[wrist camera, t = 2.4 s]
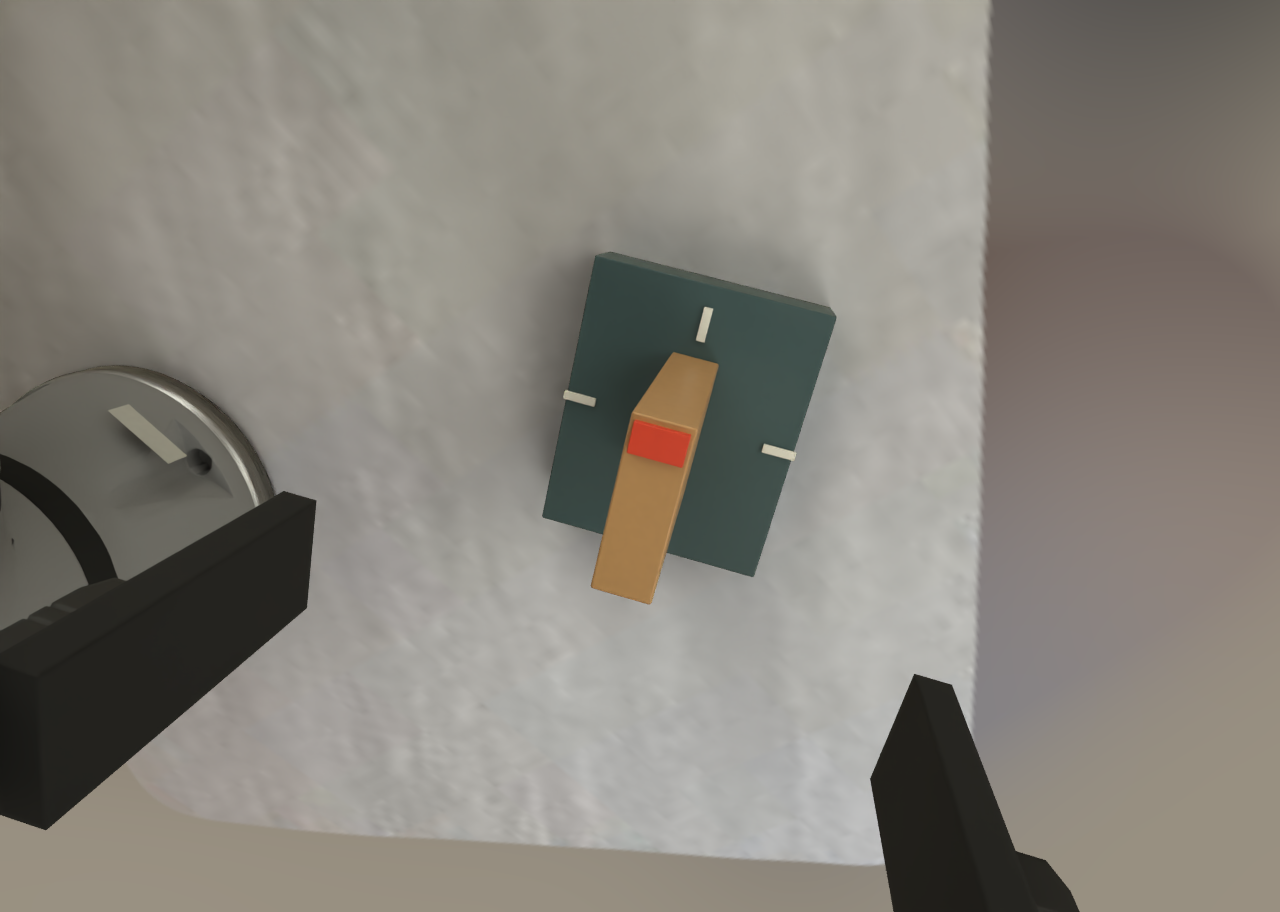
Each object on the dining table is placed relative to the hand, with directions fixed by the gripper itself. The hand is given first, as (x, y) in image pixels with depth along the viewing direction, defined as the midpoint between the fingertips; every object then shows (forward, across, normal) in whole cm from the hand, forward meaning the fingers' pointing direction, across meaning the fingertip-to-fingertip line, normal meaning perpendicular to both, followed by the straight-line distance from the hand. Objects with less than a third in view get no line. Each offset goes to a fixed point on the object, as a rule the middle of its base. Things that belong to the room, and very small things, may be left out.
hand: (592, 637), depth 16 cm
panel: (+20, 0, 0) cm, 20 cm away
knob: (+17, 0, 0) cm, 17 cm away
